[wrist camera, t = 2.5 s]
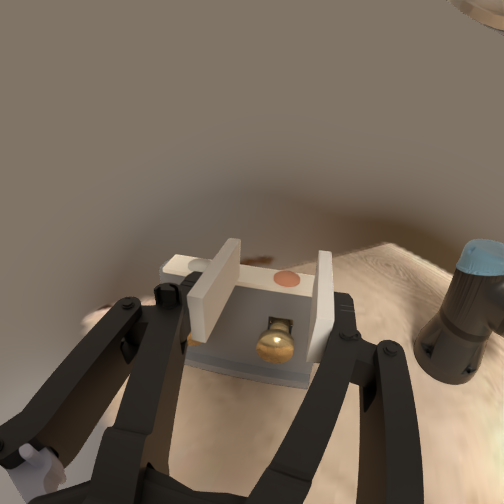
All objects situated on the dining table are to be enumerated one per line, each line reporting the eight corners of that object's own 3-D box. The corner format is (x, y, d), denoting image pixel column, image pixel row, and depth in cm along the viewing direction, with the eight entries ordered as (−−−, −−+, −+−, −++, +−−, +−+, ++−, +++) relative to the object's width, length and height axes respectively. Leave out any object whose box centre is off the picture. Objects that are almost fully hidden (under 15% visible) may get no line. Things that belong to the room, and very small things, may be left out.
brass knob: (267, 317, 41) (270, 292, 39) (297, 321, 40) (301, 297, 38) (255, 359, 33) (257, 334, 32) (290, 365, 33) (295, 340, 31)
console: (182, 336, 47) (172, 248, 40) (310, 360, 43) (331, 271, 36) (168, 359, 42) (151, 268, 34) (307, 389, 38) (332, 298, 30)
